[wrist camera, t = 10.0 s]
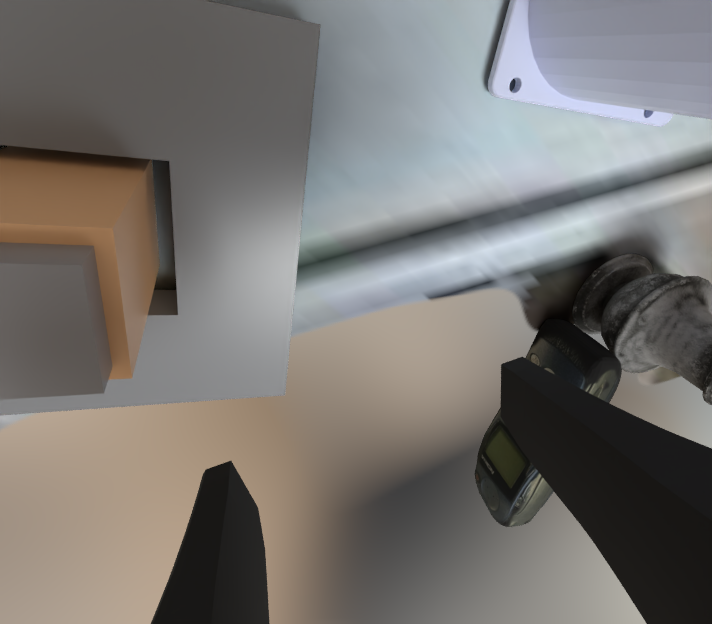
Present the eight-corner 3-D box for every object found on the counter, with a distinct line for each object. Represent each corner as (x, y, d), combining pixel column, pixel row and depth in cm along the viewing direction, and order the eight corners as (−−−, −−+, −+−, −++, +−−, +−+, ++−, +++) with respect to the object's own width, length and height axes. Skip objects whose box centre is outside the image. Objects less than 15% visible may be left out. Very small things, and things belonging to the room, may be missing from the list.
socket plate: (307, 27, 14) (320, 24, 12) (279, 367, 21) (285, 395, 19) (-311, -102, 9) (-420, -133, 8) (-89, 386, 16) (-122, 423, 15)
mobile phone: (599, 363, 20) (492, 557, 27) (644, 362, 21) (531, 549, 28) (533, 312, 24) (455, 491, 31) (573, 314, 25) (490, 487, 32)
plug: (151, 158, 15) (102, 246, 8) (160, 264, 17) (125, 405, 10) (11, 144, 13) (-182, 236, 7) (38, 261, 15) (-92, 420, 9)
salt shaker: (584, 254, 23) (871, 413, 13) (671, 243, 24) (989, 378, 14) (556, 344, 26) (769, 527, 16) (634, 329, 27) (874, 488, 17)
